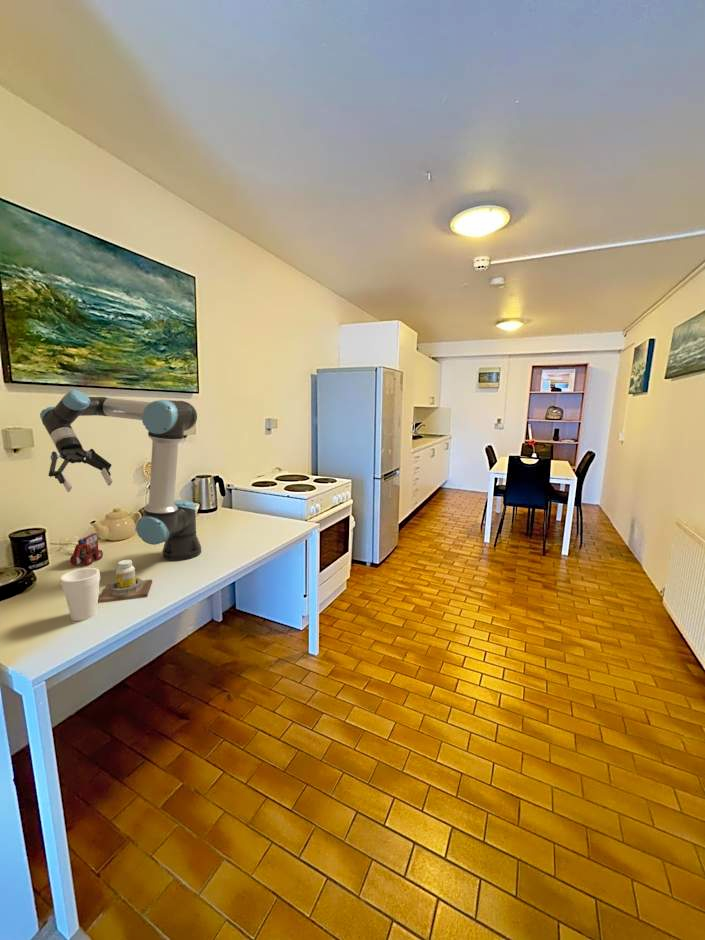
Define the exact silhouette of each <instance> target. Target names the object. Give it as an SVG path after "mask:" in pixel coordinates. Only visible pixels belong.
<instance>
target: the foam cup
mask: <svg viewBox="0 0 705 940" xmlns="http://www.w3.org/2000/svg"><path fill="white" fill-rule="evenodd" d="M100 580H101V573H100V569H99V568H95V567H86V568H78V569H75V570H70V571H68V572H66V573H64V574H63V575H61V576H60V583H61V584H60V585H61V588H62V589H63V592H64V596H65V600H66V603H67V607H68V610H69V611H68V612H69V614H70V618H71V620H72V621H74V622H82V621H86V620H89V619H92V618H93V617H95V616H96V615H97V614H98V605H99V604H98V599H99V593H100V592H99V590H100Z"/></svg>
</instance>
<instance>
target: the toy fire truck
mask: <svg viewBox="0 0 705 940" xmlns="http://www.w3.org/2000/svg"><path fill="white" fill-rule="evenodd" d="M103 555H104V552H103V550H101V549H99V533H97V532H95V533H94V532H93V533H92V534H89V535H88V536H84V537H83V538H80V539H78V541H77V544H76V545H75V547H74V550H73V554H72V555H71V556H70V558H69V562H70V564H71V565H74V566H75V565H80V564H83V565H85V566H91V565H92V564H93V562H94V561H100V560H101V559H102V558H103Z"/></svg>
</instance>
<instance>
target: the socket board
mask: <svg viewBox="0 0 705 940" xmlns="http://www.w3.org/2000/svg"><path fill="white" fill-rule="evenodd" d="M135 580H136V585H134V586H132V587H128V588H122V589H119V588H118V586H117V580H115V581H114V582H112V583H108V584H106V586H105V587H104V589H103V590H102V592H101V594H100V596H98V603H105V602H107V603H108V602H113V601H114V602H115V601H121V600H122V601H123V600H129V599H138V598H145V597H146V598H147V597H148V595H149V592H150V590H151V587H152V584H153V579H145V580H142V578H140V577H135Z"/></svg>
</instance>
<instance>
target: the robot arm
mask: <svg viewBox="0 0 705 940" xmlns="http://www.w3.org/2000/svg"><path fill="white" fill-rule="evenodd" d="M81 416H82V417H85V416H87V417H89V416H90V417H92V416H96V417H97V416H101V417H110V418H121V419H128V420H129V419H130V420H137V421H142V425H143V426H144V428H145V429H146V430H147V431H148V432H147V434H148V435H147V436H148V437H149V438H150V439H151V440H152V441H151V442H152V443H151V444H152V446H151V460H150V477H149V493H148V494H149V495H148V502H147V504H146V505H145V506H144V508H143V516H141V517H140V518H139V519H138V520H137V522H136V526H135V531H136V534H137V535H138V537H139V538H140V539H141V540H142V541H143V542H144V543H146V544H149V545H153V546H155V545H160V544H162V543H164V545H163V549H162V558H163V559H164V560H169V561H185V560H189V559H192V558H196V557H198V556H199V555H200V554H202V545H201V543H200V541H199V538H198V536H197V519H196V518H197V515H196V510H197V509H196V504H195V503H194V502H193V501H191V500H183V499H182V500H179V499H178V500H177V499H176V500H175V496H176V495H175V491H176V477H177V466H178V465H177V464H178V453H179V443H180V442H181V441H182V440H183V439H184V432H186V431H188V430H190V429H192V428H193V427H194V426H195V424H196V423H197V419H198V414H197V410H196V409H195V406H193V405H192V404H191V403H189V402H188V401H184V400H171V399H159V400H153V401H151V402H149V401H143V400H141V401H140V400H131V399H122V398H111V397H106V396H88V395H87V394H86V393H84V392H82V391H79V390H78V389H72V390H69V391H68V392H67V393H66V394H65V395H63V397H62V398H61V399H60V400H59V402H58V403H57V404H56V406H49V407H46V408H45V409H44V408H43V409H42V410H41V411H40V413H39V417H40V420H41V422H42V425H43V426H44V429H46V431H47V434H48V435H49V436H50V438H51V440H52V442H53V445H54V446H55V448H56V450H57V452H56V451H52V452H51V453H50V454H51V455H50V456H49V457H50V460H51V463H50V466H49V471H48V475H47V476H48V477H50V478H51V477H52V478H53V477H54V479H56V480H57V481H58V483H59V484H63V487H64V488H65V491H66V492H67V493H70V492H71V490H72V484H71V482H70V481H69V479H68V476H67V475H66V473H65V472H64V471H65V469H66V467H67V466H68V464H69V463H70V464H76V463H78V464H79V463H83V464H87V465H89V466H91V467H93V468H95V469H97V470H98V471H99V470H100V474H101V476H102V477H103V479H104V480H105V482H106V485H107V486H111V484H112V483H113V478H111V472H110V469H111V467H112V464H111V463H110V462H109V461H107V459H105V458H104V457H102V456H101V455H100V454H98V453H97V452H96V451H95V449H93V448H90V449H89V450H85V449H84V448H83V445H82V444H81V441H80V440H79V438H78V437H77V435H76V433H75V430H73V427H72V424H73V423H74V422H75V421H76V420H77V418H79V417H81ZM59 458H60V459H63V462H62V463H61V464H60V466H59V467H58V469H57V470H56V465H57V461H58V459H59Z"/></svg>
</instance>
